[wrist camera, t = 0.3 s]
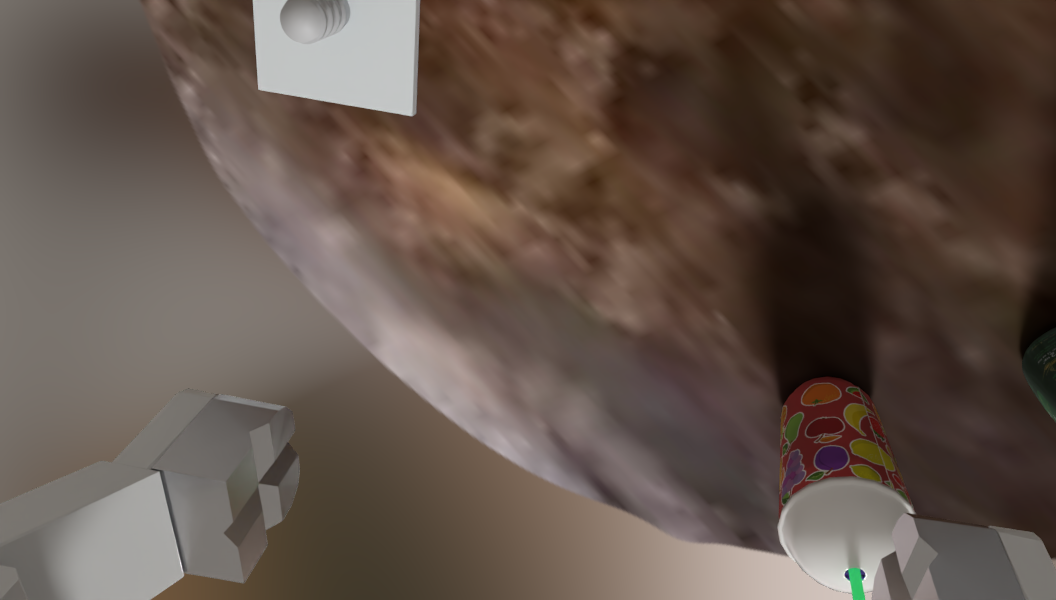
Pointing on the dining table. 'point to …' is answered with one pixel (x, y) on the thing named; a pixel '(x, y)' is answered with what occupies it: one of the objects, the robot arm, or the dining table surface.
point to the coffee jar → (1042, 370)
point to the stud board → (340, 51)
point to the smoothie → (837, 485)
